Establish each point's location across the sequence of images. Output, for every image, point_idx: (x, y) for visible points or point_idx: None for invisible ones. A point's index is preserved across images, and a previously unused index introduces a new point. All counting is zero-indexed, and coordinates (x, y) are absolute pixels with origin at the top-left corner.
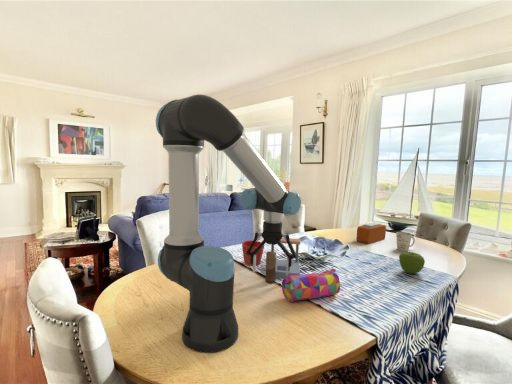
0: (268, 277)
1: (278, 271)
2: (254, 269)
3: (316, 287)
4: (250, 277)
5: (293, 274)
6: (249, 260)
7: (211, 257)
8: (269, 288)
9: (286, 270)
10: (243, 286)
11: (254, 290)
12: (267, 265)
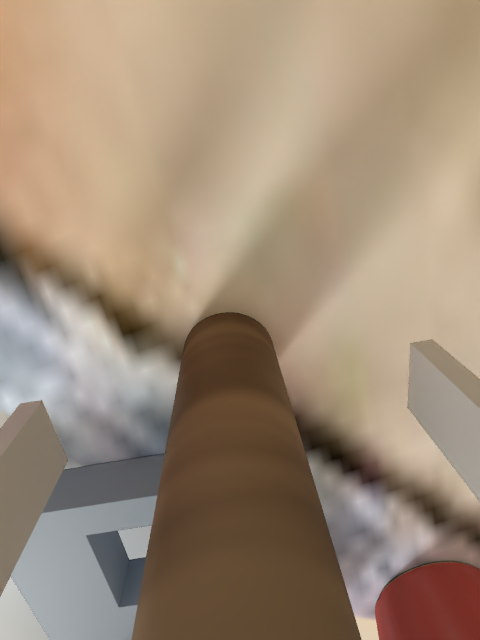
0: (238, 338)
1: None
2: (434, 362)
3: None
4: None
5: None
6: (475, 599)
7: None
8: (192, 201)
9: (7, 440)
10: (460, 148)
11: (332, 87)
12: (275, 429)
